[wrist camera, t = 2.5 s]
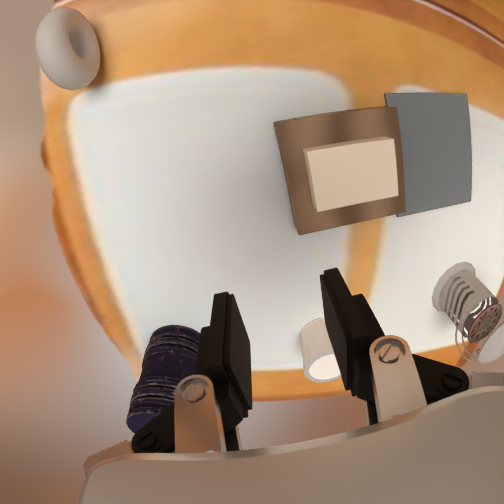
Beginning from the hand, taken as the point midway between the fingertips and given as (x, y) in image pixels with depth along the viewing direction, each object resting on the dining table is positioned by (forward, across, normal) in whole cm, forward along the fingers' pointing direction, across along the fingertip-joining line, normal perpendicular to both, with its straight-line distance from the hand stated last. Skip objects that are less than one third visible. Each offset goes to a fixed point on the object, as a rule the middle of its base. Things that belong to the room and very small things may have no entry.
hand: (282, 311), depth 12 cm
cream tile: (+19, -10, 0) cm, 21 cm away
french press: (+21, -28, +24) cm, 42 cm away
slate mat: (+21, -22, 0) cm, 31 cm away
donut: (+21, +14, -20) cm, 33 cm away
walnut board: (+21, -10, 0) cm, 23 cm away
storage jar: (+21, +17, +22) cm, 35 cm away
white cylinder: (+21, -4, +24) cm, 32 cm away
